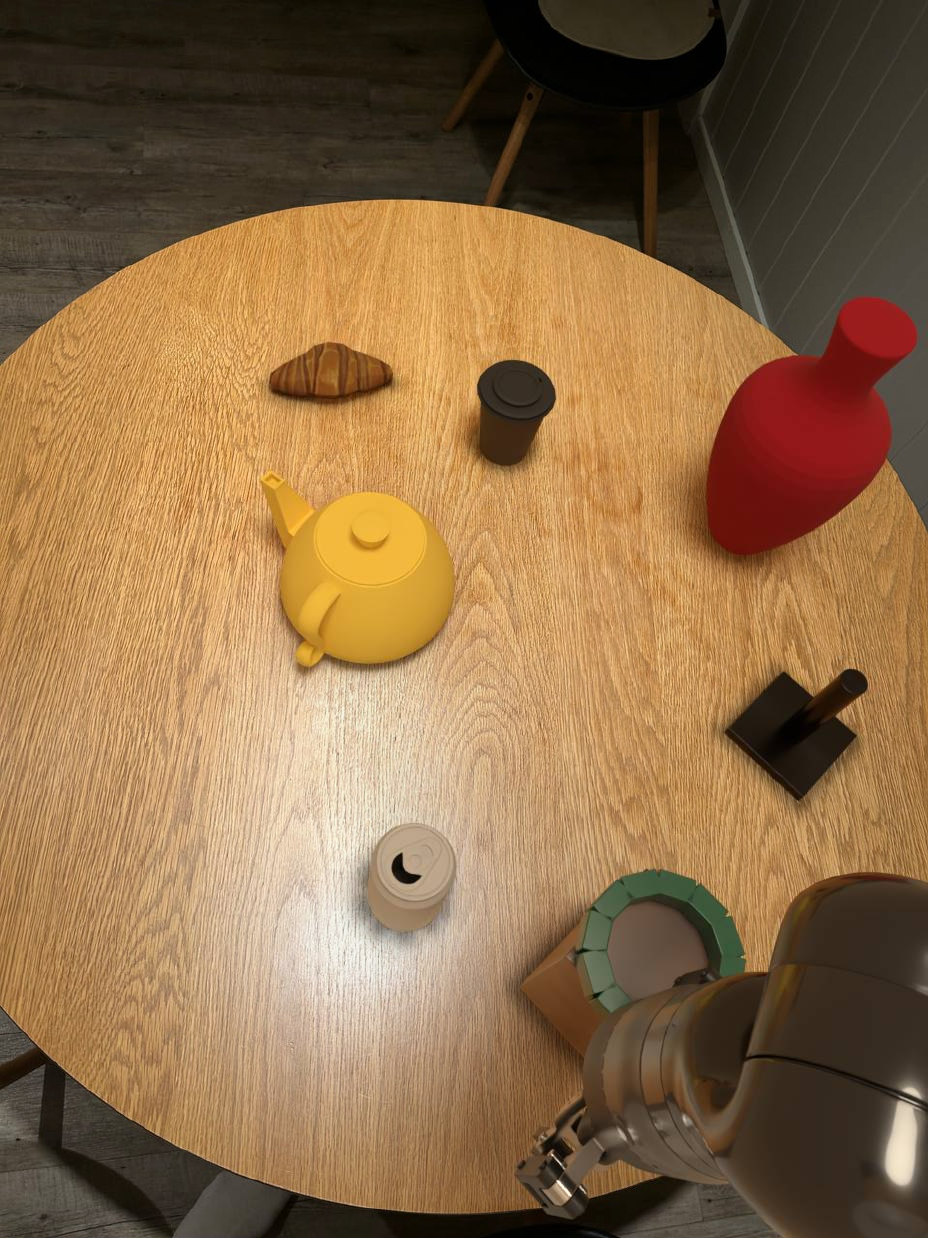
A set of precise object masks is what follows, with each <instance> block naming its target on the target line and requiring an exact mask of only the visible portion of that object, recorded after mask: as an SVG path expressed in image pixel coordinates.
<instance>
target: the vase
mask: <svg viewBox="0 0 928 1238" xmlns="http://www.w3.org/2000/svg"><path fill="white" fill-rule="evenodd" d="M918 339H919V338H918V330H917V326H916V324H915V322H914V321H913V319H912V318H911V316H909V314H908V313H907V312H906V311H905V310H903V309H902V308H901V307H900V306H898V305H896V304H894V303H893V302H891V301H889V300H886V299H883V298H879V297H875V296H860V297H855V298H853V299H850V300H848V301H847V302H845V303H844V304H843V305H842V306H841V308H840V310H839V312H838V314H837V317H836V320H835V323H834V325H833V329H832V332H831V334H830V338H829V340H828V343H827V344H826V345H827V346H826V348H825V350H824V352H823V354H822V356H818V355H811V354H795V355H789V356H784V357H779V358H775V359H772V360H770V361H768V362H766V363H763V364H762V365H761V366H759V367H757V368H756V369H755V370H754V371H753V372H751V373H750V374H749V375H748V376H747V377H746V378H745V379H744V380H743V381H742V382H741V383H740V385H739V386H738V388H737V389H736V390H735V392H734V394H733V396H732V397H731V399H729V403H728V405H727V407H726V409H725V412H724V413H723V416H722V418H721V420H720V423H719V425H718V429H717V431H716V434H715V437H714V440H713V443H712V448H711V452H710V455H709V462H708V467H707V474H706V481H705V482H706V484H705V502H706V504H705V505H706V517H707V526H708V529H709V533H710V535H711V537H712V538H713V540H714V541H715V543H717V544H718V545H719V546H720V547H721V548H723V549H724V550H726V551H728V552H730V553H732V554H735V555H738V556H755V555H758V554H761V553H764V552H767V551H771V550H773V549H777V548H779V547H782V546H785V545H787V544H789V543H792V542H794V541H796V540H798V539H800V538H803V537H804V536H807V534H811V532H813V531H815V530H817V529H818V528H820V527H821V526H823V525H824V524H826V523H827V522H828V521H830V520H831V519H833V518H834V517H836V516H837V515H838V514H839V513H840V512H841V511H842V510H844V509H845V508H846V507H847V506H849V505H850V504H851V502H852V503H853V501H855V500H856V499H857V498H858V497H859V496H860V495H861V494H862V493H863V492H864V491H865V490H866V489H867V488H868V487H869V486H870V485H871V483H872V482H873V480H874V479H875V478H876V477H877V475H878V474H879V472H880V471H881V469H882V468H883V466H884V465H885V463H886V460H887V457H888V455H889V452H890V448H891V445H892V439H893V438H892V437H893V436H892V435H893V428H892V424H891V417H890V414H889V411H888V408H887V406H886V403H885V402H884V400H883V398H882V396H881V395H880V394H879V392H878V391H877V389H876V388H875V387H874V386H875V385H876V384H877V383H878V382H879V381H880V380H881V379H882V378H883V377H884V376H885V375H886V374H888V372H890V371H891V370H893V368H894V367H896V366H897V365H898V364H899V363H900V362H901V361H902V360H904V359H905V358H906V357H907V356H908V355H910V354H911V353H912V352H913V350H914V349H915V348H916V346H917V344H918Z"/></svg>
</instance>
